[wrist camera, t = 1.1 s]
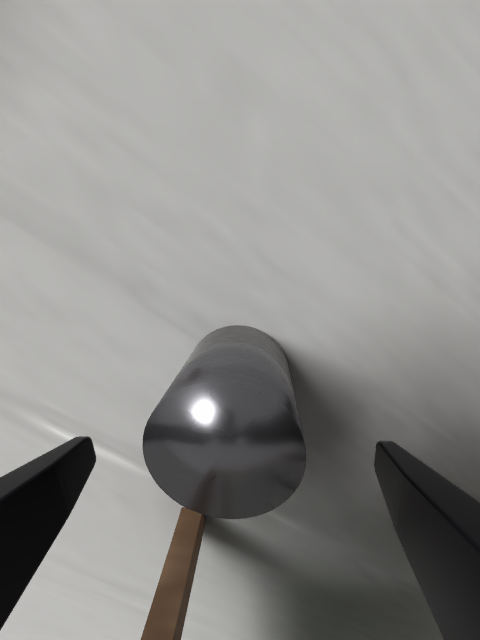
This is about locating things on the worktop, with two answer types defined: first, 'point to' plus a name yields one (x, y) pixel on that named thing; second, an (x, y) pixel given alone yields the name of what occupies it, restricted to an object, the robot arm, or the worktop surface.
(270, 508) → the cylinder
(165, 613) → the stand
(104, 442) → the worktop surface
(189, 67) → the worktop surface
